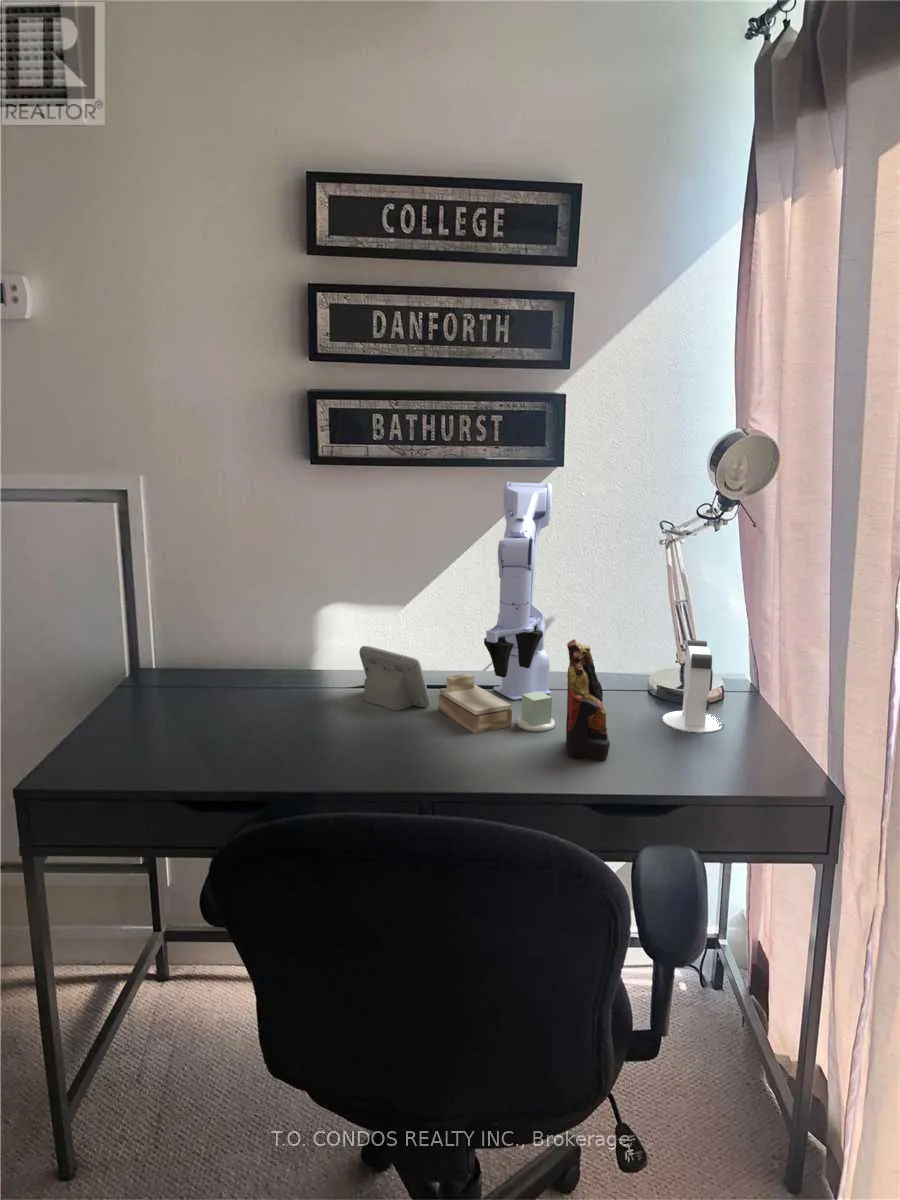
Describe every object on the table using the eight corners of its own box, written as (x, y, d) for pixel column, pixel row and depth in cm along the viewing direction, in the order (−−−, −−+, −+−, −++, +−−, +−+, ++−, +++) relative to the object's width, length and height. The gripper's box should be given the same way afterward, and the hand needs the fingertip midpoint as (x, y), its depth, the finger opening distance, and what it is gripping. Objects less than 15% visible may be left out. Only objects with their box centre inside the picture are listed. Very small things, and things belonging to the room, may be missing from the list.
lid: (473, 687, 179) (473, 671, 178) (511, 708, 167) (511, 691, 166) (439, 693, 176) (439, 676, 175) (475, 715, 164) (476, 697, 163)
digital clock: (434, 708, 177) (434, 656, 175) (396, 717, 172) (396, 664, 170) (388, 687, 190) (388, 638, 188) (352, 695, 185) (351, 645, 182)
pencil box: (473, 704, 180) (474, 688, 179) (511, 726, 168) (511, 710, 167) (438, 710, 176) (438, 694, 175) (474, 733, 164) (474, 716, 164)
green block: (539, 716, 171) (539, 691, 170) (550, 722, 168) (551, 697, 167) (521, 719, 169) (522, 694, 168) (532, 726, 166) (533, 700, 165)
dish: (540, 716, 173) (541, 712, 173) (562, 728, 167) (562, 724, 167) (510, 722, 170) (510, 718, 170) (530, 734, 164) (530, 730, 164)
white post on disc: (727, 736, 164) (734, 657, 161) (664, 732, 166) (669, 654, 163) (720, 714, 176) (726, 640, 173) (660, 710, 178) (665, 637, 174)
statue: (608, 764, 152) (614, 650, 147) (561, 760, 153) (565, 647, 148) (609, 737, 163) (615, 631, 159) (565, 734, 165) (569, 628, 160)
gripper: (508, 611, 159) (506, 684, 162) (554, 598, 170) (552, 667, 173) (477, 605, 164) (476, 676, 167) (524, 593, 175) (522, 660, 178)
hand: (512, 671), depth 170 cm, fingers open, 7 cm apart
